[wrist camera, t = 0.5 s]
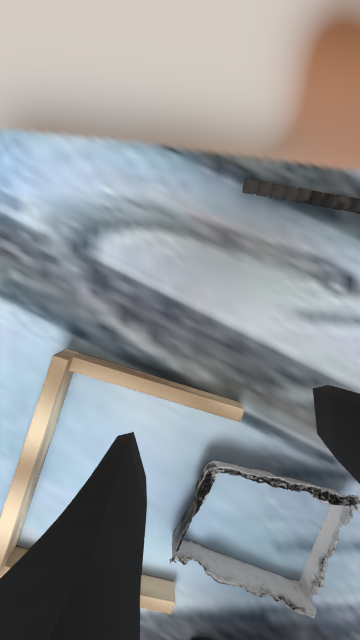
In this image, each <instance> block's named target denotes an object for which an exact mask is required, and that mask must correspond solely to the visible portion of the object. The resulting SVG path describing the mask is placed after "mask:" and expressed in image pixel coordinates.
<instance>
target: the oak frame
mask: <svg viewBox="0 0 360 640" xmlns="http://www.w3.org/2000/svg"><path fill="white" fill-rule="evenodd" d="M73 372H75V373H79V374H82V375H85V376H89V377H92V378H95V379H99V380H102V381H105V382H108V383H112V384H115V385H118V386H122V387H125V388H128V389H132V390H135V391H138V392H142V393H145V394H148V395H152V396H155V397H158V398H162V399H165V400H168V401H172V402H175V403H178V404H182V405H185V406H188V407H192V408H195V409H198V410H202V411H205V412H208V413H211V414H215V415H218V416H221V417H225V418H228V419H231V420H235V421H238V422H240V421H241V418H242V415H243V412H244V408H243V407H242V406H241V405H240V404H239V402H237V401H234V400H230V399H227V398H224V397H221V396H217V395H214V394H211V393H208V392H205V391H201V390H198V389H195V388H192V387H188V386H185V385H182V384H179V383H176V382H172V381H169V380H166V379H163V378H159V377H156V376H153V375H150V374H146V373H143V372H140V371H137V370H134V369H130V368H127V367H124V366H121V365H117V364H114V363H111V362H108V361H104V360H101V359H98V358H95V357H92V356H88V355H85V354H82V353H79V352H75V351H72V350H69V349H65V350H63V351H61V352H59V353H57V354H55V355H53V357H52V360H51V363H50V367H49V370H48V373H47V376H46V379H45V382H44V385H43V388H42V391H41V394H40V397H39V401H38V404H37V407H36V410H35V413H34V416H33V419H32V422H31V425H30V428H29V431H28V435H27V438H26V441H25V444H24V447H23V450H22V453H21V456H20V459H19V462H18V465H17V469H16V472H15V475H14V478H13V481H12V484H11V487H10V490H9V493H8V496H7V499H6V503H5V506H4V509H3V512H2V515H1V518H0V578H1V577H2V576H3V575H4V574H5V573H6V572H7V571H8V570H9V569H10V568H11V567H12V566H13V565H14V564H15V563H16V562H17V561H18V560H19V559H20V558H21V557H22V556H23V555H24V554H25V553H26V552H27V551H28V550H29V549H25V548H20V547H16V545H17V542H18V539H19V536H20V533H21V530H22V527H23V524H24V521H25V517H26V514H27V511H28V508H29V505H30V502H31V499H32V496H33V493H34V490H35V487H36V484H37V481H38V478H39V475H40V472H41V469H42V466H43V463H44V460H45V456H46V453H47V450H48V447H49V444H50V441H51V438H52V435H53V432H54V429H55V426H56V423H57V420H58V417H59V414H60V411H61V408H62V405H63V402H64V399H65V395H66V392H67V389H68V386H69V383H70V380H71V377H72V374H73ZM174 605H175V588H174V582H173V581H168V580H164V579H159V578H155V577H151V576H146V575H141V591H140V608H143V609H148V610H153V611H158V612H163V613H167V614H171V613H172V611H173V608H174Z"/></svg>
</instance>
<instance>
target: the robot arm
mask: <svg viewBox="0 0 360 640" xmlns="http://www.w3.org/2000/svg"><path fill="white" fill-rule="evenodd" d="M313 395H314V405H315V415H316V425H317V434H318V435H319V437H320V438H321V439H322V441H323V442H324V443H325V445H326V446H327V448H328V449H329V450H330V451H331V453H332V454H333V455H334V457H335V458H336V459H337V460H338V461H339V462H340V463H341V464H342V465H343V466H344V467H345V469H346V470H347V471H348V472H349V473H350V474H351V475H352V476H353V477H354V478H355V479H356V480H357V481H358V482H359V483H360V394H359V393H355V392H352V391H349V390H345V389H342V388H338V387H334V386H329V385H326V386H322V387H318V388H313ZM146 510H147V493H146V475H145V472H144V468H143V464H142V461H141V457H140V453H139V450H138V446H137V442H136V439H135V435H134V432H132V433H128V434H123V435H119V436H117V438H116V439H115V441H114V442H113V444H112V445H111V447H110V448H109V450H108V451H107V453H106V454H105V456H104V457H103V459H102V460H101V462H100V463H99V465H98V466H97V468H96V469H95V470H94V472H93V473H92V475H91V476H90V478H89V479H88V480H87V482H86V483H85V484H84V486H83V487H82V488H81V490H80V491H79V492H78V494H77V495H76V496H75V498H74V499H73V500H72V502H71V503H70V504H69V505H68V507H67V508H66V509H65V510H64V511H63V513H62V514H61V515H60V516H59V517H58V519H57V520H56V521H55V522H54V523H53V524H52V525H51V526H50V528H49V529H48V530H47V531H46V532H45V533H44V534H43V535H42V536H41V538H40V539H39V540H38V541H37V542H36V543H35V544H34V545H33V546H32V547H31V548H30V549H29V550H28V551H27V552H26V553H25V554H24V555H23V556H22V557H21V558H20V559H19V560H18V561H17V562H16V563H15V564H14V565H13V566H12V567H11V568H10V569H9V570H8V571H7V572H6V573H5V574H4V575H3V576H2V577H1V578H0V640H140V591H141V575H142V562H143V550H144V537H145V524H146Z"/></svg>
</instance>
